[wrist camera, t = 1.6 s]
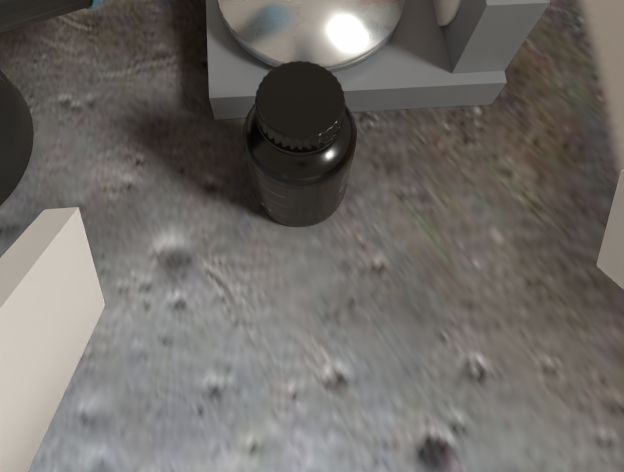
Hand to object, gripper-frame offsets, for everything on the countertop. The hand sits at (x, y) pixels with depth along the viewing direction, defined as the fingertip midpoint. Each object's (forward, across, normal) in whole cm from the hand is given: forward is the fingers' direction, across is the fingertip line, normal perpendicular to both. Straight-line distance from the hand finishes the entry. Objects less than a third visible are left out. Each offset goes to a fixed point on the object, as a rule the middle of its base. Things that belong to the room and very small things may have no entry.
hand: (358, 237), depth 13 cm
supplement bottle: (+24, 0, -8) cm, 26 cm away
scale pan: (+31, +2, +4) cm, 32 cm away
